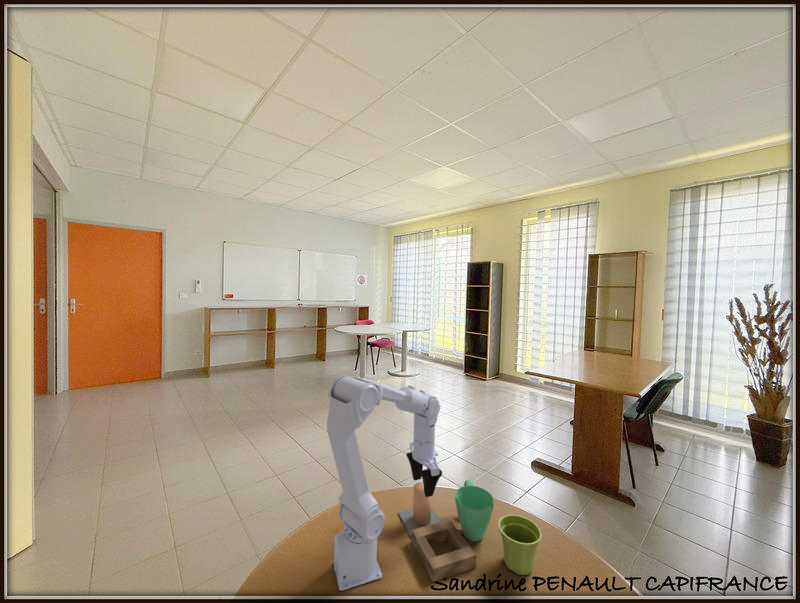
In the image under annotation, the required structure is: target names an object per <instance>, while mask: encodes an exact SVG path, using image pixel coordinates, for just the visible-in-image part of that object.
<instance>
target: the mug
mask: <svg viewBox="0 0 800 603" xmlns="http://www.w3.org/2000/svg"><path fill="white" fill-rule="evenodd" d="M463 485H464V486H461V487H459V488H458V489H457V490H456V491H455V495H454V497H455V498H454V501H455V505H456V506H455V507H456V512H457V515H458V520H459V523H460V527H461V530H462V532H463V535H464V537H465V538H466V539H467V538H468V539H467V540H469V541H471V540H472V541H471V542H479V541H478V540H480V541H481V540H482V539H483V537H484V535H485V534H486V531H487V528H488V526H489V524H490V521H491V519H492V514H493V510H494V506H495V505H494V504H495V501H494V500H495V499H494V497H493V495H492V494H491V493H490V492H489V491H488V490H487V489H484V488H482V487H479V486H476V485H475V483H474V480H471V479H466V480H465V481H464V484H463Z"/></svg>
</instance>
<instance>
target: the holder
mask: <svg viewBox="0 0 800 603" xmlns="http://www.w3.org/2000/svg"><path fill="white" fill-rule="evenodd" d="M410 539H411V540H410V541H411V544H412V546H413V547H414V549H416V550H415V551H416V553H417V555H418V557H419V559H420V561H421V563H422V565H423V566H424V568H425V570H426V572H427V575H428V576H429V578H430V580H431V582H432V583H434V582H437V581H441V580H444V579H446V578H449V577H452V576H455V575H458V574H462V573H463V572H467V571H471V570H472V569H476V568H477V554H476V553H475V552H474V550H473V549H472V547H471V546H470V544H468V542H467V541H466V539H465V538H464V536H462V533H461V532H460V531H459V530H458V529H457V527H456V526H455V525H454V523H453V522H452V521H451V519H448V520H447V519H446V520H445V521H442V522H440V523H436V524H432V525H428V526H425V527H421V528H417V529H414V530H412V533H411V536H410ZM446 541H447V542H448V544H449V545H450V546H451V548H452V550H453V551H450V552H447V553H444V554H443V553H442V554H440V555H436V553H435V551H434V549H433V548H432V545H437V544H440V543H443V542H446Z"/></svg>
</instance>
